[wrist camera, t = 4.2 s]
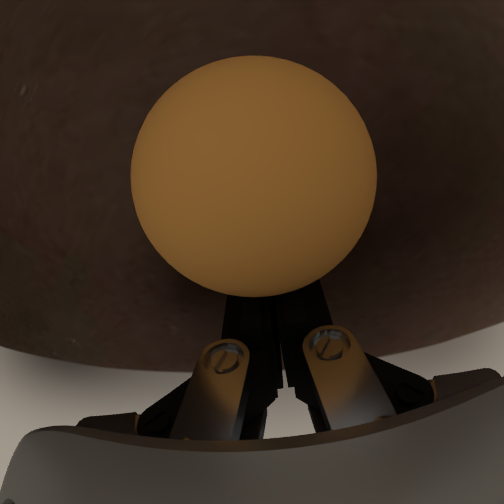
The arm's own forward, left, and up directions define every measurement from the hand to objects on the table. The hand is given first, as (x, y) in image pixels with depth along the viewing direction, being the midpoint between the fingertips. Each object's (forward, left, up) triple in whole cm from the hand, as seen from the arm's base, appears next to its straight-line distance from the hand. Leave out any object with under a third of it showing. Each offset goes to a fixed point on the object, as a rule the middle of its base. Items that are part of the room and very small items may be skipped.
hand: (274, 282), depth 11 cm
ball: (0, -4, +2) cm, 5 cm away
